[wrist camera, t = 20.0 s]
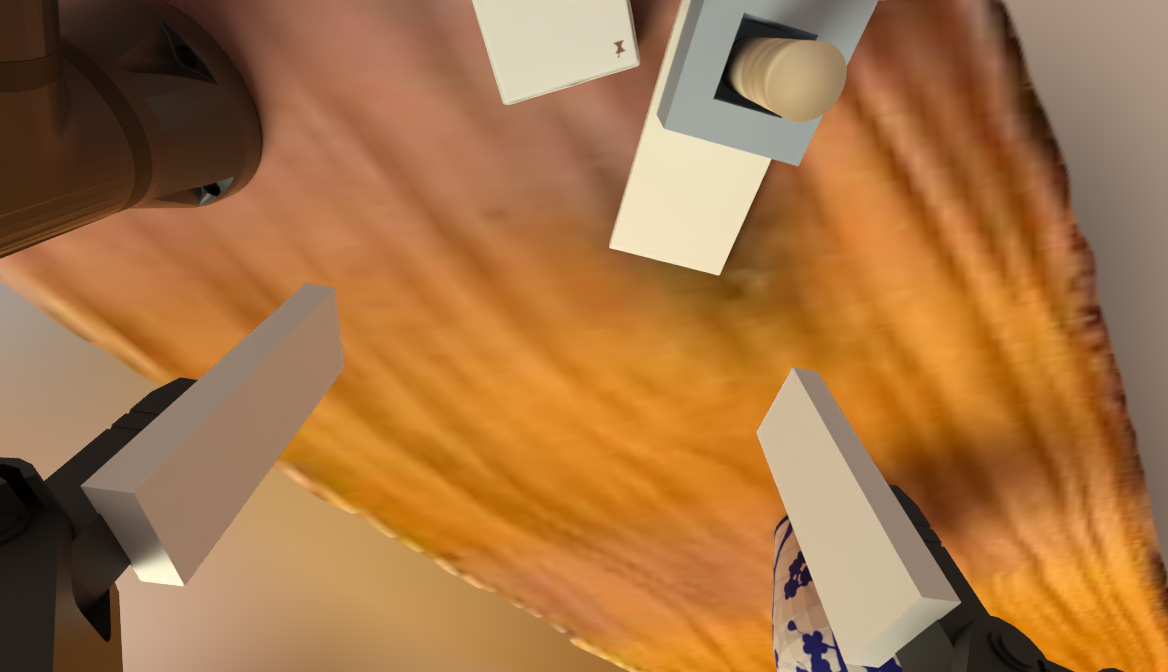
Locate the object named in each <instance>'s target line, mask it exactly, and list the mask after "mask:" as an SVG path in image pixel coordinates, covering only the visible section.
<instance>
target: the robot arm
mask: <svg viewBox="0 0 1168 672" xmlns="http://www.w3.org/2000/svg"><path fill="white" fill-rule="evenodd" d="M260 153H261V132H260V125H259V120H258V116H257V112H256V109H255V106H254V103H253V101H252V98H251V96H250V93H249V91H248V89H247V87H246V85H245V83H244V81H243V80H242V78H241V76H240V74H239V73H238V71H237V69H236V68H235V66H234V65H233V64H232V62H231V61H230V59H229V58H228V57H227V55H226V54H225V53H224V51H223V50H222V49H221V48H220V47H219V46H218V44H217V43H216V42H215V41H214V40H213V39H212V38H211V37H210V36H209V35H208V34H207V33H206V32H205V31H204V30H203V29H202V28H201V27H200V26H199V25H197V24H196V23H195V22H194V21H193V20H191V19H190V18H189V17H188V16H186V15H185V14H183V13H182V12H181V11H179V10H178V9H176V8H175V7H173V6H171V5H170V4H168V3H166V2H164V1H163V0H0V259H1V258H3V257H6V256H8V255H11V254H13V253H16V252H18V251H21V250H23V249H26V248H29V247H31V246H34V245H36V244H39V243H41V242H44V241H46V240H49V239H51V238H54V237H56V236H59V235H62V234H64V233H67V232H69V231H72V230H74V229H77V228H79V227H82V226H84V225H87V224H90V223H92V222H95V221H97V220H100V219H102V218H105V217H107V216H110V215H112V214H115V213H117V212H120V211H123V210H126V209H129V208H194V207H201V206H206V205H209V204H212V203H215V202H217V201H220V200H222V199H224V198H227V197H229V196H231V195H233V194H235V193H237V192H238V191H240V190H241V189H242V188H244V187H245V186H246V185H247V184H248V182H249V181H250V180H251V178H252V177H253V175H254V173H255V171H256V169H257V166H258V163H259V159H260ZM343 369H344V358H343V350H342V342H341V334H340V326H339V317H338V309H337V301H336V293H335V288H331V287H325V286H319V285H313V284H307V283H305V284H304V285H303V286H302V287H301V288H300V289H299V290H298V291H297V292H295V293H294V294H293V295H292V296H291V297H290V298H289V299H288V300H287V301H285V302H284V303H283V304H282V305H281V306H280V307H279V308H278V309H277V310H275V311H274V312H273V313H272V314H271V315H270V316H269V317H268V318H267V319H265V320H264V321H263V322H262V323H261V324H260V325H259V326H258V327H257V328H255V329H254V330H253V331H252V332H251V333H250V334H249V335H248V336H247V337H245V338H244V339H243V340H242V341H241V342H240V343H239V344H238V345H237V346H235V347H234V348H233V349H232V350H231V351H230V352H229V353H228V354H227V355H225V356H224V357H223V358H222V359H221V360H220V361H219V362H218V363H217V364H215V365H214V366H213V367H212V368H211V369H210V370H209V371H208V372H207V373H205V374H204V375H203V376H202V377H201V378H200V379H199V380H193V379H187V378H178V379H176V380H174V381H172V382H170V383H168V384H166V385H164V386H162V387H160V388H158V389H156V390H154V391H152V392H151V393H149V394H148V395H147V396H146V397H145V398H143V399H142V400H141V401H140V402H139V403H137V404H136V405H135V406H134V407H133V408H131V409H130V412H129V414H124V415H123V416H122V417H121V418H119V419H118V420H117V421H116V422H115V423H113V424H112V427H111V429H106V430H105V431H104V432H103V433H101V434H100V435H99V436H98V437H97V438H95V439H94V440H93V441H92V442H91V443H89V444H88V445H87V446H86V447H85V448H83V449H82V450H81V451H80V452H79V453H77V454H76V455H75V456H74V457H73V458H71V459H70V460H69V461H68V462H67V463H65V464H64V465H63V466H62V467H61V468H59V469H58V470H57V471H56V472H54V473H53V474H52V475H51V476H50V477H48V479H46V480H45V481H43V480H42V478H41V476H40V475H39V474H38V472H37V471H36V469H35V468H34V466H33V465H32V464H30V463H28V462H26V461H24V460H21V459H20V458H2V457H0V672H123V664H122V644H121V625H120V605H119V591H118V589H117V587H116V584H115V581H116V580H117V579H118V577H119V576H120V575H121V574H122V573H123V572H124V570H125V569H126V568H127V567H128V566H129V565H131V566H132V568H133V569H134V571H135V572H136V574H137V575H138V577H139V579H140V580H141V581H145V582H153V583H162V584H170V585H179V586H185V585H186V584H187V582H188V581H189V580H190V578H191V577H192V576H193V574H194V573H195V571H196V570H197V569H198V567H199V566H200V565H201V563H202V562H203V561H204V559H205V557H206V556H207V555H208V554H209V552H210V551H211V550H212V548H213V547H214V545H215V544H216V543H217V541H218V540H219V539H220V537H221V536H222V535H223V533H224V532H225V530H226V529H227V528H228V526H229V525H230V524H231V522H232V521H233V519H234V518H235V517H236V515H237V514H238V512H239V511H240V510H241V508H242V507H243V506H244V504H245V503H246V502H247V500H248V499H249V497H250V496H251V495H252V493H253V492H254V491H255V489H256V488H257V486H258V485H259V484H260V482H261V481H262V480H263V478H264V477H265V476H266V474H267V473H268V471H269V470H270V469H271V467H272V466H273V465H274V463H275V462H276V461H277V459H278V458H279V456H280V455H281V454H282V452H283V451H284V450H285V448H286V447H287V445H288V444H289V443H290V441H291V440H292V439H293V437H294V436H295V434H296V433H297V432H298V430H299V429H300V428H301V426H302V425H303V424H304V422H305V421H306V419H307V418H308V417H309V415H310V414H311V413H312V411H313V410H314V408H315V407H316V406H317V404H318V403H319V402H320V400H321V399H322V397H323V396H324V395H325V393H326V392H327V391H328V389H329V388H330V387H331V385H332V384H333V382H334V381H335V380H336V378H337V377H338V376H339V374H340V373H341V371H342V370H343ZM756 433H757V436H758V439H759V441H760V444H761V446H762V449H763V452H764V454H765V457H766V459H767V462H768V465H769V467H770V470H771V472H772V475H773V478H774V480H775V483H776V485H777V488H778V491H779V493H780V496H781V498H782V501H783V504H784V506H785V509H786V511H787V514H788V517H789V519H790V522H791V524H792V527H793V530H794V532H795V535H796V538H797V540H798V543H799V545H800V548H801V551H802V553H803V556H804V558H805V561H806V564H807V566H808V569H809V571H810V574H811V577H812V579H813V582H814V584H815V587H816V590H817V592H818V595H819V597H820V600H821V603H822V605H823V608H824V610H825V613H826V616H827V618H828V621H829V623H830V626H831V629H832V631H833V634H834V637H835V639H836V642H837V644H838V647H839V650H840V652H841V655H842V657H843V660H844V663H845V664H852V665H860V666H869V667H877V668H879V667H880V666H882V665H883V664H884V663H885V662H887V661H888V660H889V659H890V658H892V657H893V656H894V655H896V657H897V659H898V661H899V663H900V665H901V667H902V669H903V672H1074V671H1071V670H1069V669H1067V668H1065V667H1062V666H1060V665H1058V664H1056V663H1053V662H1051V661H1049V660H1047V659H1046V658H1045V656H1044V654H1043V653H1042V652H1041V651H1040V650H1039V649H1038V648H1037V646H1036V645H1035V644H1034V643H1033V642H1032V641H1031V640H1030V639H1029V638H1028V637H1027V636H1026V635H1024V634H1023V633H1022V632H1021V631H1019V630H1018V629H1017V628H1016V627H1014V626H1013V625H1011V624H1009V623H1007V622H1005V621H1004V620H1002V619H1000V618H998V617H994V616H990V615H989V613H988V612H987V611H986V609H985V608H984V606H983V605H982V603H981V602H980V600H979V599H978V597H977V596H976V594H975V593H974V591H973V590H972V588H971V587H970V585H969V583H968V582H967V580H966V579H965V577H964V576H963V574H962V573H961V571H960V570H959V568H958V567H957V565H956V564H955V562H954V561H953V559H952V558H951V556H950V555H949V553H948V552H947V550H946V549H945V547H942V546H941V543H942V542H941V541H940V539H939V538H938V536H937V535H936V533H935V532H934V530H932V529H930V524H929V523H928V521H927V520H926V518H925V517H924V515H923V514H922V512H921V511H920V509H919V507H918V506H917V505H916V504H915V503H914V502H913V501H912V500H911V499H910V498H909V497H908V496H907V495H906V494H905V493H904V492H903V491H902V490H901V489H900V488H899V487H898V486H895V485H888V484H887V482H886V481H885V479H884V478H883V476H882V474H881V473H880V471H879V470H878V468H877V466H876V465H875V463H874V462H873V460H872V458H871V457H870V455H869V454H868V452H867V450H866V449H865V447H864V446H863V444H862V442H861V441H860V439H859V438H858V436H857V434H856V433H855V431H854V430H853V428H852V426H851V425H850V423H849V422H848V420H847V418H846V417H845V415H844V414H843V412H842V410H841V409H840V407H839V406H838V404H837V402H836V401H835V399H834V398H833V396H832V394H831V393H830V391H829V390H828V388H827V386H826V385H825V383H824V382H823V380H822V378H821V377H820V375H819V374H818V372H817V371H811V370H805V369H800V368H794V367H793V368H792V370H791V371H790V373H789V375H788V377H787V379H786V380H785V382H784V384H783V386H782V388H781V389H780V391H779V393H778V395H777V396H776V398H775V400H774V402H773V404H772V405H771V407H770V409H769V411H768V413H767V414H766V416H765V418H764V420H763V422H762V423H761V425H760V427H759V429H758V431H757V432H756ZM1098 672H1124V671H1121V670H1118V669H1116V668H1106V669H1102V670H1100V671H1098Z"/></svg>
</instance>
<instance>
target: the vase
mask: <svg viewBox="0 0 1168 672" xmlns="http://www.w3.org/2000/svg"><path fill="white" fill-rule="evenodd" d="M772 621H773V651H774V656H775V662H776V667H777V671H778V672H903V669H902V667H901V665H900V663H899V661H898V659H897V657H896V655H894V656H893V657H892V658H890V659H889V660H888V661H887V662H885V663H884V664H883V665H882V666H880V667H879V668H877V667H869V666H860V665H852V664H845V663H844V660H843V657H842V655H841V652H840V650H839V647H838V644H837V642H836V639H835V637H834V634H833V631H832V629H831V626H830V623H829V621H828V618H827V616H826V613H825V610H824V608H823V605H822V603H821V600H820V597H819V595H818V592H817V590H816V587H815V584H814V582H813V579H812V577H811V574H810V571H809V569H808V566H807V564H806V561H805V558H804V556H803V553H802V551H801V548H800V545H799V543H798V540H797V538H796V535H795V532H794V530H793V527H792V524H791V522H790V519H789V517H788V516H787V517H785V518H784V519H783V520H782V521H781V522H780V523H779V524H778V526H777V527H776V530H775V550H774V572H773V599H772Z"/></svg>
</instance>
